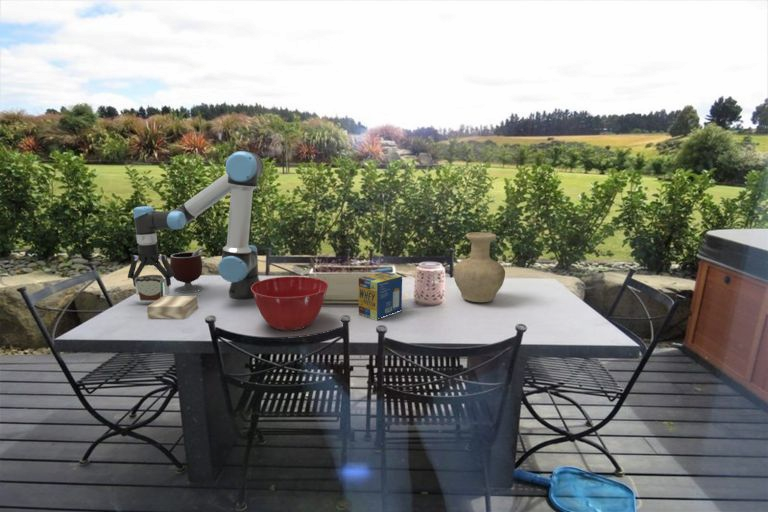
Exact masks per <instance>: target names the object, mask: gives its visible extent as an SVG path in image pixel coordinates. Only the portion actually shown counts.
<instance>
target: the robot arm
mask: <svg viewBox="0 0 768 512" xmlns="http://www.w3.org/2000/svg"><path fill="white" fill-rule="evenodd" d="M225 171H226V173H225V174H223V175H221V176H220V177H218V178H217V179H216V180H215V181H213V182H212V183H210V184H209V185H208V186H206V187H205V188H203V189H202V190H201V191H200V192H198V193H196V194H195V195H194V196H193V197H191V198H189V199H188V200H187V201H186V202H184V203H183V204H181V205H180V206H178V207H177V208H175V209H171V210H164V211H163V210H161V211H159V210H158V211H157V210H156V211H155V210H154V207H153V206H152V205H151V206H149V205H146V206H143V205H142V206H137V207H134V208H133V220H134V227H135V236H136V243H137V244H138V245H137V251H138V252H137V253H138V255H136V254H134V255H132V256H131V258H130V259H131V263H130V266H129V271H128V275H127V278H128V279H131V280H132V282H133V283H132V284H133V286H134V287H135V291H136V295H138V296H139V293H138V289H137V285H136V282H135V278H136V277H140V274H141V273H142V271H143V269H144V268H145V266H152V267H153V266H154V267H155V268H156V269H157V270H158V271H159V273H161V276H162V277H163V278H164V282H163V288H164V294H165V295H168V294H170V293H171V290H170V286H171V285H172V281H171V279H172V278H174V277H173V276H175V274H174V272H173V270H172V268H171V266H170V261H169V260H168V257H167V256H168V255H166V254H163V255H160V254H159V246H158V245H159V244H158V243H157V242H158V238H157V237H158V236H157V230H183V229H184V228H185V226H186V225H188V224H190V223H191V222H193V220H194V219H195V218H196V217H198V216H199V215H200V214H202V213H203V212H205V211H206V210H207V209H209V208H210V207H212V206H213V205H215V204H217V202H219V201H220V200H222V199H223V198H224V197H226V196H227V195H228V194H230V200H229V213H228V225H227V226H228V227H227V237H226V238H227V239H226V245H225V246H223V247H222V254H221V259H220V260H219V262H218V267H217V272H218V274H219V276H220V277H221V278H222V279H223V280H225V281H226V282H229V283H230V285H229V289H228V296H229V297H230V298H232V299H239V300H245V299H246V300H247V299H254V296H253V292H252V291H251V286H252V285H253V284H255V283H257V282H259V281H261V280H260V278H259V263H258V248H257V246H256V245H253V244H252V245H251V244H250V245H249V239H250V238H249V237H250V229H251V219H252V218H251V216H252V204H253V193H254V192H253V191H254V190H255V189H257V188H258V180H259V177H260V176H261V175H262V173H263V172H264V162H263V160H262V158H261V157H260V155H258V154H257V153H255V152H251V151H244V150H243V151H241V150H240V151H236V152H234V153H232V154H231V155H229V156H228V158H227V160H226V161H225ZM138 261H140V263H139V264H138ZM160 261H161V262H160ZM137 264H138V267H137ZM136 268H137V269H136Z"/></svg>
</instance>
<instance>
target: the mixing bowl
mask: <svg viewBox="0 0 768 512" xmlns="http://www.w3.org/2000/svg"><path fill="white" fill-rule="evenodd" d="M328 288H329V283H327V281H325V280H323V279H319V278H315V277H311V276H298V275H297V276H294V275H293V276H279V277H272V278H265V279H263V280H260V281H259V282H257V283H255V284H253V285H252V286H251V291H252V292H253V296H254V298H253V299H254V301H255V304H256V306H257V309H258V310H259V313H260V314H261V316H262V318H263V319H264V321H265V323H267V324H268V325H269V326H271V327H273V328H274V329H276V330H279V329H281V330H280V331H286V330H290V331H296V330H295V329H299V330H301V329H300V328H302V329H304V328H303V327H305V328H306V326H307V327H308V326H309V325H311V324H312V323H313V322H314V321H315V320H316V319H317V317H318V315H319V313H320V311H321V309H322V306H323V305H324V301H325V298H326V294H327V290H328Z"/></svg>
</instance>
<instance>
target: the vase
mask: <svg viewBox="0 0 768 512" xmlns="http://www.w3.org/2000/svg"><path fill="white" fill-rule="evenodd" d="M465 238H466V239H467V240H469V241H470V243H471V247H470V256H469V257H468V258H464V259H462V260H461V261H459V262H457V263H456V264H455V266H454V268H453V278H454V282H455V285H456V286H457V289H458V291H460V295H461V298H462V299H464V300H466V301H469V302H473V303H487V302H491V301H494V300H495V298H496V295H497V293H498V292H499V290H501V289H502V286H503V285H504V281H505V277H506V270H505V268H504V266H503V265H502V264H501V263H499V262H498V261H496V260H495V259H492V258H491V257H490V245H491V242H492V241H495V239H497V234H494V233H490V232H481V231H479V232H477V231H476V232H474V231H473V232H467V233H466V234H465Z"/></svg>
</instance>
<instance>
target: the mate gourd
mask: <svg viewBox="0 0 768 512" xmlns="http://www.w3.org/2000/svg"><path fill="white" fill-rule="evenodd" d="M202 249H204V246H200V247H199V248H197V249H196V250H194V251H183V252H178V253H173V254H171V255H170V260H169V264H170V266H171V268H172V270H173V272H174V274H175V276H173V277H172V278H174V279H175V280H176V281H179V282H182V283H184V285H181V286H177V287H175V288H174V293H176V292H178V293H177V294H190V293H189V292H193V293H196V292H195V291H198V290H200V291H202V290H203V286H202V285H198V284H192V283H193V282H194V281H196V280H198V279H199V278H200V277H201V275H202V273H203V260H202V256H201V253H200V251H201V250H202ZM201 289H202V290H201ZM198 292H199V291H198Z"/></svg>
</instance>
